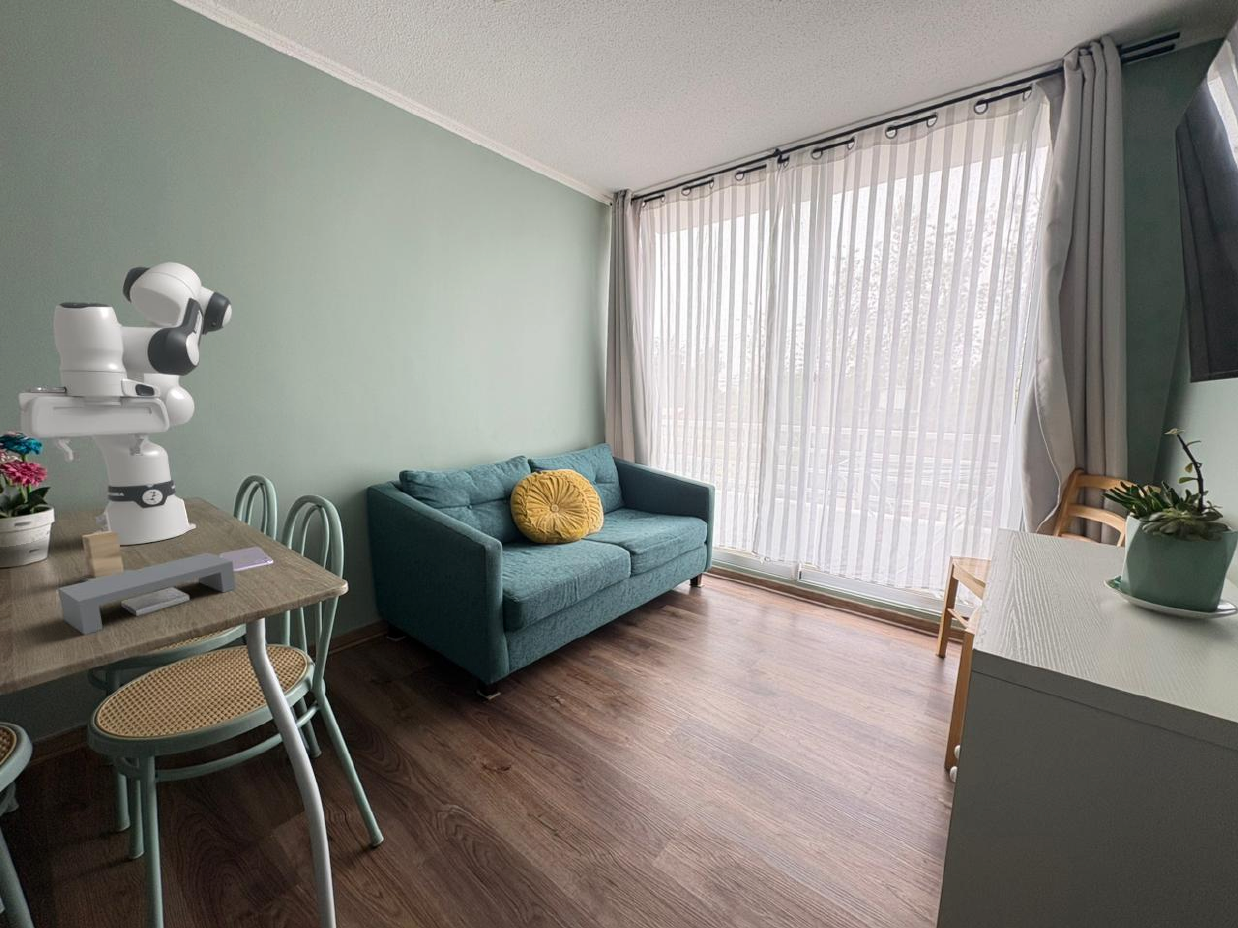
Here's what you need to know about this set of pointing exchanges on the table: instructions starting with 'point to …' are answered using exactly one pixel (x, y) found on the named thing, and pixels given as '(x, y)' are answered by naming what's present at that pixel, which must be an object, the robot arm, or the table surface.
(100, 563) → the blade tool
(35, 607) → the table surface
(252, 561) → the mobile phone
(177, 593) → the flat gray rectangular block
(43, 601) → the table surface
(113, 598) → the low shelf
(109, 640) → the table surface
